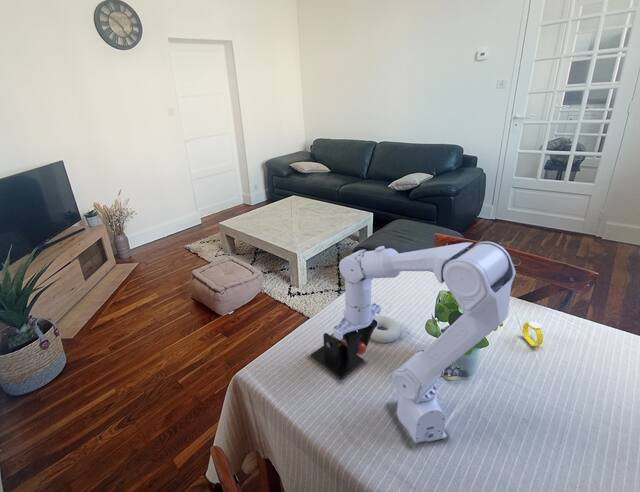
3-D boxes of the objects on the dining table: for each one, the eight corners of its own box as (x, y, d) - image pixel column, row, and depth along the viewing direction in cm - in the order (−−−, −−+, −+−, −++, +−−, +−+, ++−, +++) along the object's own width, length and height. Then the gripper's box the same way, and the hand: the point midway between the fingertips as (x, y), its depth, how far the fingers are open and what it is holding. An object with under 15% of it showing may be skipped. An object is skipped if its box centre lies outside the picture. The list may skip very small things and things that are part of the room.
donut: (404, 345, 93) (396, 322, 102) (404, 336, 92) (396, 313, 101) (367, 345, 94) (362, 322, 104) (367, 336, 93) (362, 313, 102)
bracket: (364, 363, 88) (364, 336, 85) (340, 381, 83) (339, 353, 80) (333, 342, 97) (332, 316, 94) (310, 357, 92) (308, 331, 89)
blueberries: (427, 370, 84) (428, 364, 84) (447, 356, 88) (447, 350, 88) (453, 387, 79) (454, 381, 78) (472, 371, 83) (473, 365, 82)
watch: (518, 335, 93) (521, 317, 91) (528, 334, 93) (532, 316, 91) (532, 350, 88) (536, 331, 85) (543, 350, 87) (548, 331, 85)
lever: (370, 351, 81) (367, 339, 80) (361, 358, 79) (358, 346, 78) (338, 341, 90) (335, 329, 89) (329, 346, 88) (326, 335, 88)
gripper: (364, 282, 84) (364, 327, 88) (322, 306, 76) (325, 354, 80) (389, 293, 78) (387, 340, 83) (346, 321, 70) (347, 371, 75)
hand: (358, 348), depth 81 cm, fingers closed on lever, 3 cm apart
